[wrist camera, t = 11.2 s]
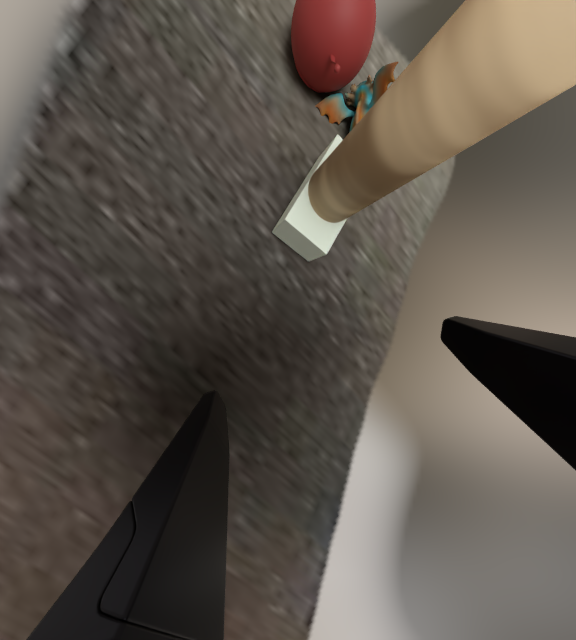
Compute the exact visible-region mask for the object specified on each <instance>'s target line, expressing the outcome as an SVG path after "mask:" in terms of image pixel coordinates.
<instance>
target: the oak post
mask: <svg viewBox="0 0 576 640" xmlns="http://www.w3.org/2000/svg"><path fill="white" fill-rule="evenodd" d="M574 85H576V0H465V1H464V3H463V4H462V5H461V6H460V7H459V8H458V10H457V11H456V12H455V13H454V14H453V15H452V16H451V17H450V19H449V20H448V21H447V22H446V23H445V25H443V27H442V28H441V29H440V30H439V31H438V32H437V33H436V35H435V36H434V37H433V38H432V39H431V40H430V42H428V44H427V45H426V46H425V47H424V48H423V49H422V50H421V52H420V53H419V54H418V55H417V56H416V57H415V58H414V60H413V61H412V62H411V63H410V64H409V65H408V66H407V68H406V69H405V70H404V71H403V72H402V73H401V74H400V76H399V77H398V78H397V79H396V80H395V81H394V82H393V84H392V85H391V86H390V87H389V88H388V89H387V90H386V91H385V93H384V94H383V95H382V96H381V97H380V98H379V99H378V101H377V102H376V103H375V104H374V105H373V106H372V107H371V109H370V110H369V111H368V112H367V113H366V114H365V115H364V117H363V118H362V119H361V120H360V121H359V122H358V123H357V125H356V126H355V127H354V128H353V129H352V130H351V131H350V132H349V134H348V135H347V136H346V137H345V138H344V139H343V140H342V142H341V143H340V144H339V145H338V146H337V147H336V148H335V150H334V151H333V152H332V153H331V154H330V155H329V156H328V158H327V159H326V160H325V161H324V162H323V163H322V164H321V166H320V167H319V168H318V169H317V170H316V171H315V172H314V174H313V175H312V177H311V178H310V181H309V185H308V196H309V200H310V203H311V206H312V208H313V209H314V211H315V212H316V213H317V215H318V216H319V217H321V218H322V219H323V220H325V221H327V222H331V223H338V222H341V221H343V220H345V219H347V218H348V217H350V216H352V215H353V214H355V213H357V212H359V211H360V210H362V209H364V208H365V207H367V206H369V205H371V204H372V203H374V202H376V201H377V200H379V199H381V198H382V197H384V196H386V195H388V194H389V193H391V192H393V191H394V190H396V189H398V188H400V187H401V186H403V185H405V184H406V183H408V182H410V181H412V180H413V179H415V178H417V177H418V176H420V175H422V174H424V173H425V172H427V171H429V170H430V169H432V168H434V167H436V166H437V165H439V164H441V163H442V162H444V161H446V160H447V159H449V158H451V157H453V156H454V155H456V154H458V153H459V152H461V151H463V150H464V149H466V148H468V147H470V146H471V145H473V144H475V143H477V142H478V141H480V140H482V139H483V138H485V137H487V136H488V135H490V134H492V133H494V132H495V131H497V130H499V129H500V128H502V127H504V126H506V125H507V124H509V123H511V122H512V121H514V120H516V119H517V118H519V117H521V116H523V115H524V114H526V113H528V112H529V111H531V110H533V109H535V108H536V107H538V106H540V105H542V104H543V103H545V102H547V101H548V100H550V99H552V98H553V97H555V96H557V95H559V94H560V93H562V92H564V91H566V90H567V89H569V88H570V87H572V86H574Z"/></svg>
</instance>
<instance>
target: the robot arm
mask: <svg viewBox="0 0 576 640" xmlns="http://www.w3.org/2000/svg"><path fill="white" fill-rule="evenodd" d="M441 340H442V342H443V343H444V344H445V345H446V346H447V347H448V349H449V350H450V351H451V352H452V353H453V354H454V355H455V356H456V358H458V360H459V361H460V362H461V363H462V364H463V365H464V366H465V368H466V369H467V370H468V371H469V372H470V373H471V374H472V375H473V376H474V377H475V378H477V380H479V381H480V382H481V383H482V384H483V385H484V386H485V387H486V388H487V389H488V390H489V391H491V392H492V393H493V394H494V395H495V396H496V397H497V398H498V399H499V400H500V401H501V402H502V403H503V404H504V405H506V406H507V407H508V408H509V409H510V410H511V411H512V412H513V413H514V414H515V415H516V416H517V417H519V418H520V419H521V420H522V421H523V422H524V423H525V424H526V425H527V426H528V427H529V428H530V429H532V430H533V431H534V432H535V433H536V434H537V435H538V436H539V437H540V438H541V439H542V440H543V441H544V442H546V443H547V444H548V445H549V446H550V447H551V448H552V449H553V450H554V451H555V452H556V453H558V454H559V455H560V456H561V457H562V458H563V459H564V460H565V461H566V462H567V463H568V464H569V465H571V466H572V467H573V468H574V469H575V470H576V337H570V336H565V335H559V334H553V333H547V332H542V331H536V330H530V329H525V328H519V327H514V326H508V325H503V324H497V323H491V322H485V321H480V320H475V319H469V318H463V317H458V316H454V317H450V318H447V319H445V320H444V321H443V324H442V331H441ZM228 483H229V441H228V428H227V416H226V408H225V405H224V403H223V401H222V399H221V397H220V395H219V393H218V392H217V391H215V390H214V391H211V392H207V393H205V394H204V395H203V396H202V398H201V399H200V401H199V402H198V404H197V405H196V406H195V408H194V409H193V411H192V412H191V414H190V415H189V417H188V418H187V419H186V421H185V422H184V424H183V425H182V427H181V428H180V430H179V431H178V432H177V434H176V435H175V437H174V438H173V440H172V441H171V443H170V444H169V445H168V447H167V448H166V450H165V451H164V453H163V454H162V456H161V457H160V458H159V460H158V461H157V463H156V464H155V466H154V467H153V469H152V470H151V472H150V473H149V474H148V476H147V477H146V479H145V480H144V482H143V483H142V485H141V486H140V487H139V489H138V490H137V492H136V493H135V495H134V496H133V498H132V501H130V502H129V503H128V505H127V506H126V508H125V509H124V510H123V512H122V513H121V515H120V516H119V518H118V519H117V520H116V522H115V523H114V525H113V526H112V527H111V529H110V530H109V532H108V533H107V534H106V536H105V537H104V539H103V540H102V541H101V543H100V544H99V546H98V547H97V548H96V550H95V551H94V552H93V554H92V555H91V556H90V558H89V559H88V560H87V562H86V563H85V564H84V565H83V567H82V568H81V569H80V571H79V572H78V573H77V575H76V576H75V577H74V579H73V580H72V581H71V583H70V584H69V585H68V586H67V588H66V589H65V590H64V592H63V593H62V594H61V596H60V597H59V598H58V599H57V601H56V602H55V603H54V605H53V606H52V607H51V608H50V610H49V611H48V612H47V614H46V615H45V616H44V618H43V619H42V620H41V621H40V623H39V624H38V625H37V627H36V628H35V629H34V630H33V632H32V633H31V634H30V636H29V637H28V638H27V640H224V608H225V577H226V546H227V514H228Z"/></svg>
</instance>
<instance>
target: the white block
mask: <svg viewBox="0 0 576 640" xmlns="http://www.w3.org/2000/svg"><path fill="white" fill-rule="evenodd" d="M341 142H342V138H341V137H340V136H339V135H338V134H337V136H336V137H335V138H334V139H333V141H332V142H331V143H330V144H329V145H328V147H327V148H326V149H325V150H324V152H323V153H322V154H321V155H320V156H319V158H318V159H317V161H316V162H315V164H314V165H313V167H312V169H311V170H310V172H309V173H308V175H307V177H306V178H305V180H304V181H303V183H302V185H301V186H300V188H299V189H298V191H297V193H296V194H295V196H294V197H293V199H292V201H291V202H290V204H289V205H288V207H287V209H286V210H285V212H284V213H283V215H282V216H281V218H280V220H279V221H278V223H277V224H276V226H275V228H274V229H273V231H272V233H273V234H274V235H276V236H277V237H278V238H279V239H281V240H282V241H283V242H284V243H286V244H287V245H288V246H289V247H291V248H292V249H293V250H294V251H296V252H297V253H298V254H299V255H301V256H302V257H303V258H304V259H306V260H307V261H308V262H309V261H311V260H314V259H316V258H319V257H321V256H324V255H326V254H327V253H328V251H329V249H330V248H331V246H332V244H333V242H334V241H335V239H336V237H337V235H338V234H339V232H340V230H341V228H342V227H343V225H344V223H345V221H346V220H347V219H345V220H343V221H341V222H338V223H331V222H327V221H325V220H323V219H322V218H321V217H319V216H318V215H317V213H316V212H315V211H314V209H313V208H312V206H311V203H310V200H309V196H308V185H309V181H310V178H311V177H312V175H313V174H314V172H315V171H316V170H317V169H318V168H319V167H320V166H321V164H322V163H323V162H324V161H325V160H326V159H327V158H328V156H329V155H330V154H331V153H332V152H333V151H334V150H335V148H336V147H337V146H338V145H339V144H340V143H341Z"/></svg>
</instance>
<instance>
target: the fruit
mask: <svg viewBox="0 0 576 640" xmlns="http://www.w3.org/2000/svg"><path fill="white" fill-rule="evenodd" d="M375 23H376V4H375V0H296V4H295V7H294V12H293V17H292V26H291V43H292V51H293V56H294V60H295V65H296V69H297V71H298V73H299V75H300V77H301V79H302V80H303V81H304V83H305V84H306V85H307V86H308V87H310V88H311V89H312V90H314V91H316V92H320V93H325V92H333V91H337V90H339V89H341V88H343V87H344V86H346V85H347V84H348V83H349V82H350V81H351V80H353V78H354V77H355V76H356V75H357V74H358V72H359V71H360V69H361V68H362V66H363V64H364V62H365V60H366V58H367V56H368V53H369V51H370V48H371V44H372V41H373V36H374V31H375Z"/></svg>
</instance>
